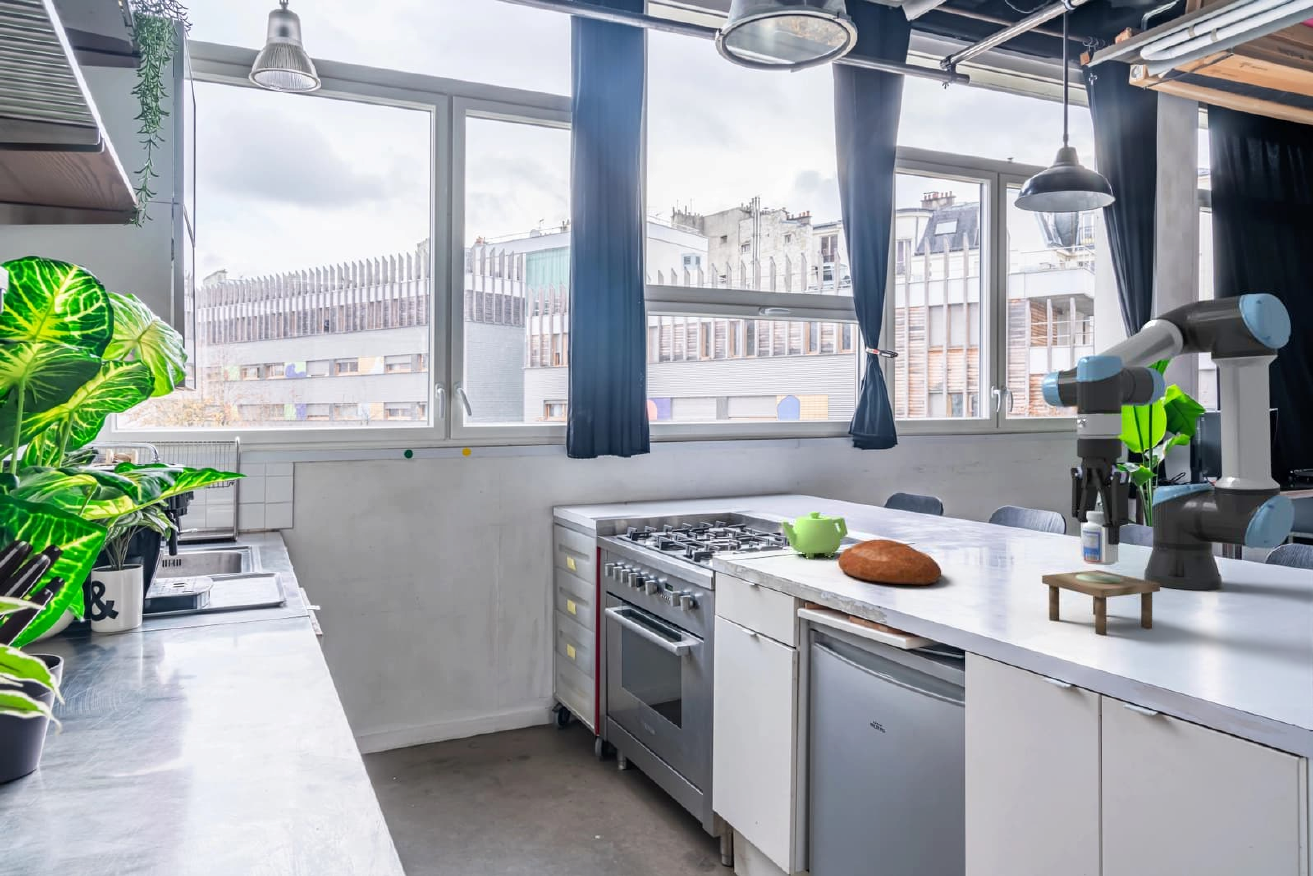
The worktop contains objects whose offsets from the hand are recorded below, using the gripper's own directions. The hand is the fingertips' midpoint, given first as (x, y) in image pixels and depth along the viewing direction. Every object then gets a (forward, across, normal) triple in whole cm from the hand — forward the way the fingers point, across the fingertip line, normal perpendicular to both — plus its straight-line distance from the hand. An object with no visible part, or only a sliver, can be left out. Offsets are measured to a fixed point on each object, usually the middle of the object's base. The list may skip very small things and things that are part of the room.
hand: (1099, 558), depth 156 cm
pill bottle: (+1, 0, 0) cm, 1 cm away
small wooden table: (+13, 0, 0) cm, 13 cm away
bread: (+13, -53, -19) cm, 58 cm away
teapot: (+13, -85, -27) cm, 90 cm away
